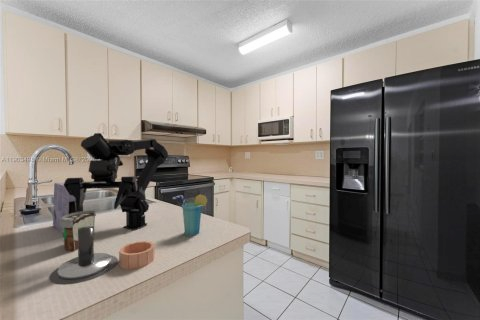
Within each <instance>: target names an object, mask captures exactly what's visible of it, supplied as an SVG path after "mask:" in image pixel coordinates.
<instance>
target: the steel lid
mask: <svg viewBox="0 0 480 320" xmlns="http://www.w3.org/2000/svg"><path fill="white" fill-rule="evenodd" d="M94 239H95V226H94V227H92V226H87V227H82V228H79V229H78V249H77V256H75V257H74V258H71V259H69V260H67V261H65V262H64V263H62V264H61V265H60V266H59V267H57V268H58V277H59V278H60V279H62V280H78V279H83V278H87V277H90V276H93V275H96V274H98V273H100V272H102V271H104V270H106V269H107V268H108V267H109V266H110V265H111V263H112V258H111V254H109V253H105V252H94V251H95V247H94V245H95V243H94V242H95V241H94Z"/></svg>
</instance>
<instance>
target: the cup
mask: <svg viewBox="0 0 480 320" xmlns="http://www.w3.org/2000/svg"><path fill="white" fill-rule="evenodd" d="M179 198H181V201H182V202H183V203H182V204H181V208H182V216H183V227H184V229H183V230H184V234H185V235H186V236H197V235H198V234H200V229H201V218H202V217H201V216H202V209H203V208H204V207H206V205H207V203H208V198H207V196H206V195H205V194H204V195H203V194H198V195H196V196H195V198H194V201H193V202H186V200H185V197H184V195H181V194H178V195H177V196H173V197H172V198H171V200H173V201H174V200H176V199H179Z"/></svg>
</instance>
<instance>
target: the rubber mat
mask: <svg viewBox="0 0 480 320" xmlns="http://www.w3.org/2000/svg"><path fill="white" fill-rule="evenodd" d="M110 255H111V254H110ZM111 258H112V263H111V265H110V266H109V267H108V268H107V269H106V270H104V271H102V272H100V273H98V274H96V275H93V276H90V277H87V278H83V279H78V280H62V279H60V278H59V277H58V268H59V267H57V268H56V269H55V270H53V271H52V272H51V273H50V274H49V277H48V279H49V281H50V282H51V283H53V284H54V285H72V284H74V285H75V284H81V283H83V282H87V281H90V280H94V279H97V278H99V277H101V276H103V275H106V274H107V273H109V272H110V271H113V269H115V268H116V266H117V265H118V264H119V258H117V257H116V256H115V255H111Z"/></svg>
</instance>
